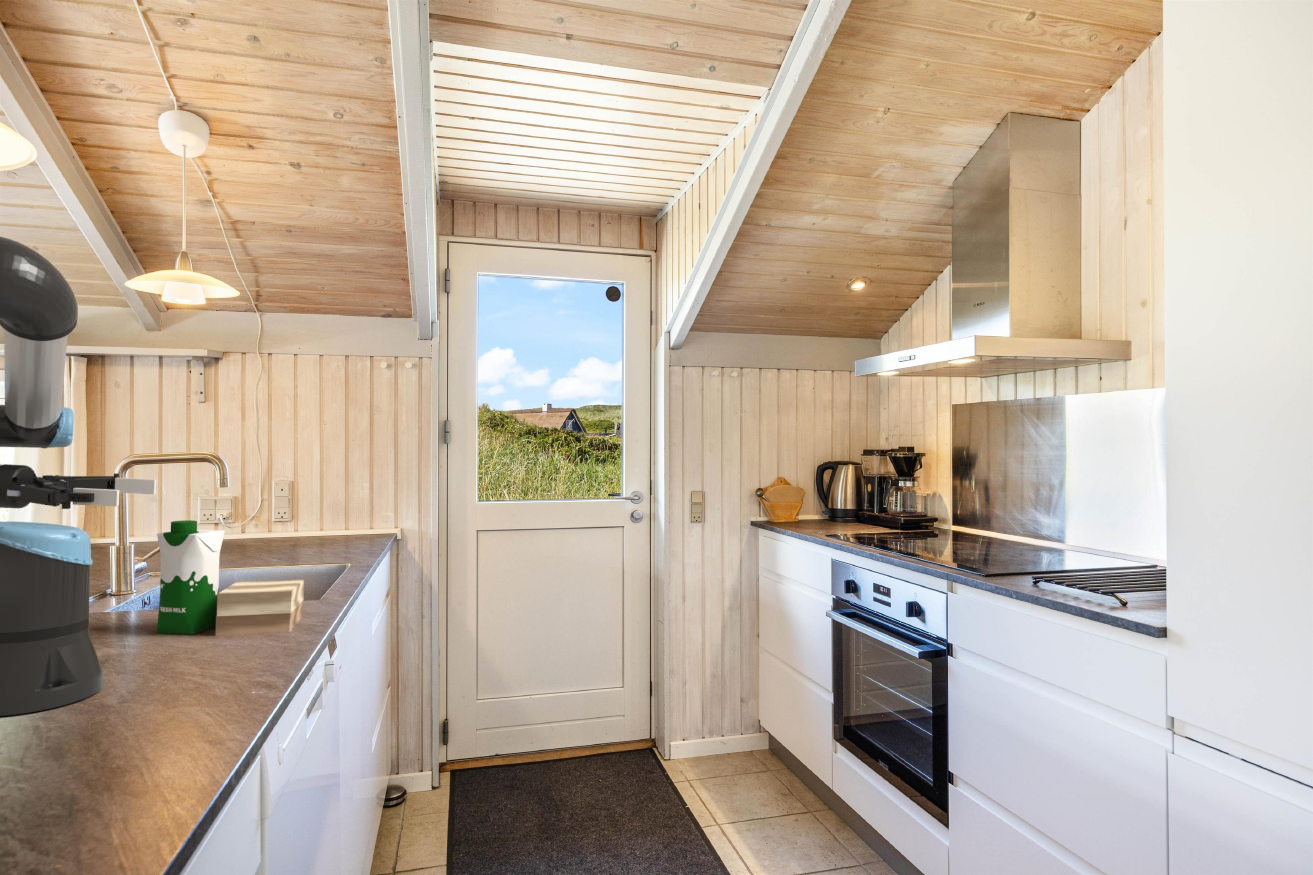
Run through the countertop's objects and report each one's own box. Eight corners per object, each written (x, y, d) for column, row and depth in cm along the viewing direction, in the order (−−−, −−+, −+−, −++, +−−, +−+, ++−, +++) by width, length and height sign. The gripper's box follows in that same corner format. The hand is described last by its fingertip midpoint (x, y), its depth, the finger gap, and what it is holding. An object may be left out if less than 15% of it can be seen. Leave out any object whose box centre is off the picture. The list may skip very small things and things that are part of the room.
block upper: (290, 613, 133) (291, 591, 133) (216, 616, 130) (217, 593, 130) (303, 599, 144) (304, 579, 145) (235, 602, 141) (236, 581, 141)
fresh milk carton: (147, 634, 130) (151, 521, 130) (185, 622, 139) (188, 517, 139) (193, 636, 129) (197, 523, 129) (228, 624, 138) (231, 518, 138)
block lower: (289, 635, 133) (289, 613, 133) (215, 638, 130) (216, 616, 130) (302, 620, 144) (303, 599, 144) (234, 622, 141) (235, 602, 141)
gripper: (42, 496, 138) (167, 501, 142) (-56, 520, 114) (99, 526, 118) (44, 456, 138) (169, 463, 142) (-55, 472, 113) (100, 480, 118)
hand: (137, 492), depth 130 cm, fingers open, 13 cm apart
